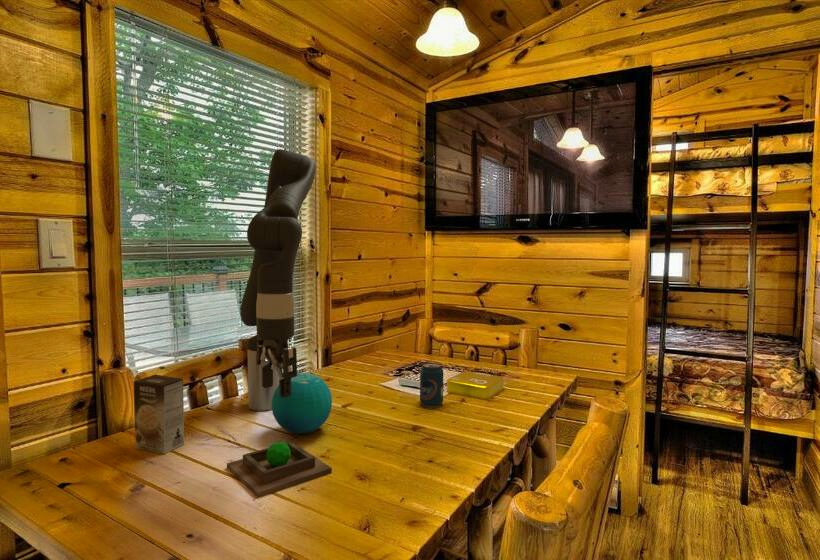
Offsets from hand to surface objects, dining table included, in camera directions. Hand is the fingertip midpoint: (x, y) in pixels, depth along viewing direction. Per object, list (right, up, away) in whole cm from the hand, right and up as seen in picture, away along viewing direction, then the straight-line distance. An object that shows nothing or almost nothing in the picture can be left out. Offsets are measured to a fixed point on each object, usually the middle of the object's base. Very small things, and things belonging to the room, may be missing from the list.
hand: (276, 391), depth 101 cm
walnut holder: (0, -17, +1) cm, 17 cm away
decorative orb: (+1, -16, +22) cm, 27 cm away
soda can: (+34, -14, +44) cm, 58 cm away
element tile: (+49, -14, +60) cm, 79 cm away
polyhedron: (0, -16, +1) cm, 16 cm away
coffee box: (-31, -16, +13) cm, 37 cm away
